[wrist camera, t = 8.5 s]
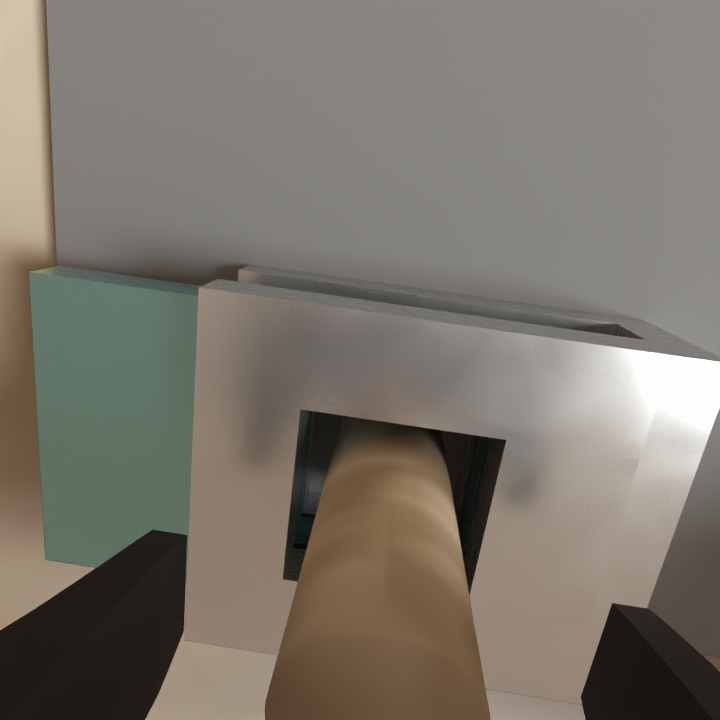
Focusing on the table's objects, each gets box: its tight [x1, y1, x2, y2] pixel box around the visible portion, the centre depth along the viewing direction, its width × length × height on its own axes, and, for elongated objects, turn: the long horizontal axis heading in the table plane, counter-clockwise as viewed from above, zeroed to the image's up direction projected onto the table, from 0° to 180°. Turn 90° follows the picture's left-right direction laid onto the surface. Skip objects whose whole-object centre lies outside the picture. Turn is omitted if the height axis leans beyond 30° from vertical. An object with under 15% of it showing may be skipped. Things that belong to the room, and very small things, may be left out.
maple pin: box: [265, 416, 490, 720], centre depth 11 cm, size 3×3×9 cm
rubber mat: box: [46, 0, 720, 657], centre depth 15 cm, size 22×20×1 cm
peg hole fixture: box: [29, 264, 720, 704], centre depth 14 cm, size 15×9×4 cm, turn 82°
